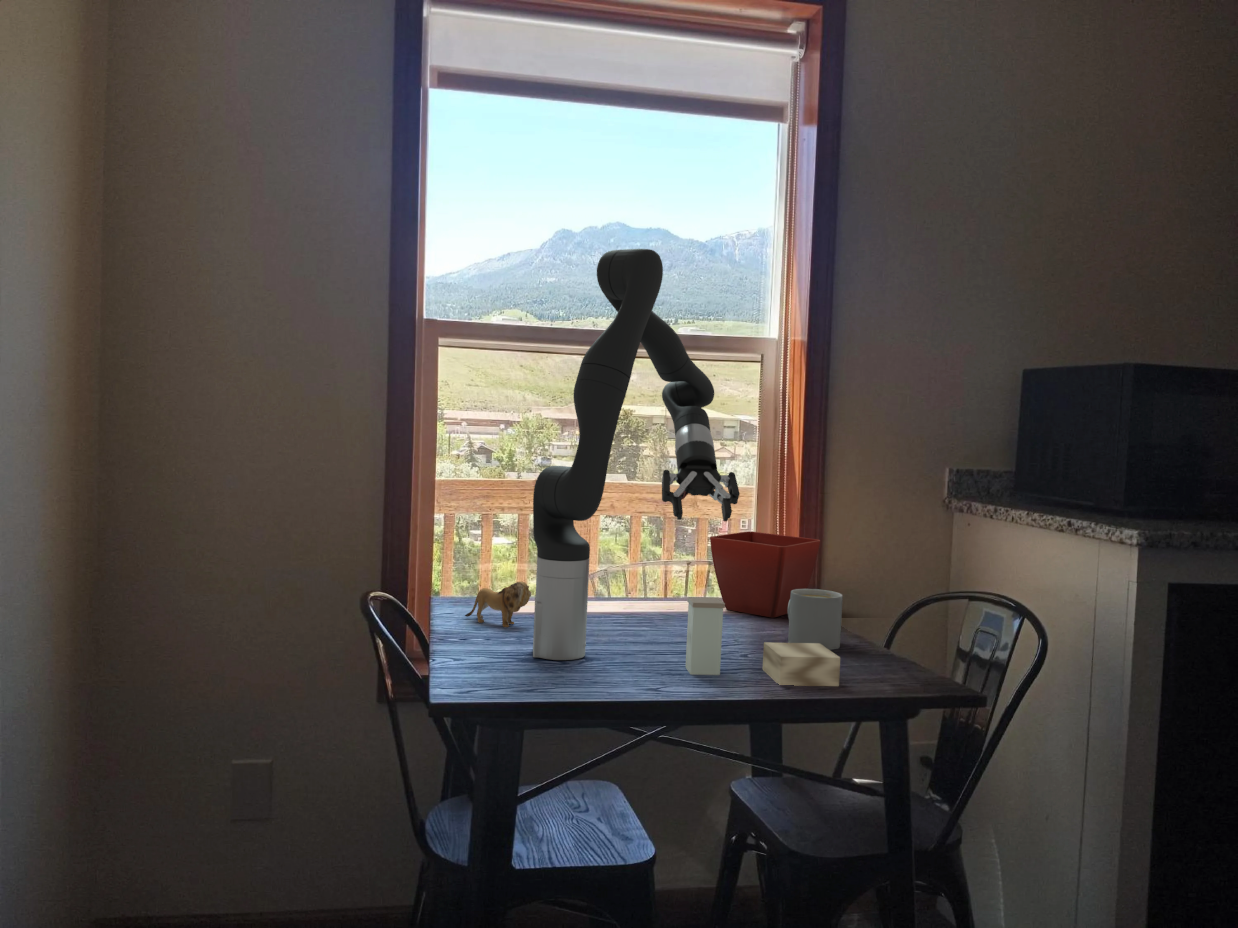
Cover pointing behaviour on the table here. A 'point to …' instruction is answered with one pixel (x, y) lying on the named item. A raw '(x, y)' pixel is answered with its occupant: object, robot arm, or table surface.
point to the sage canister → (704, 635)
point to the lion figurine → (502, 601)
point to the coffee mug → (815, 617)
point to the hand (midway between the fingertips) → (703, 517)
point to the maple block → (801, 664)
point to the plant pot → (762, 570)
